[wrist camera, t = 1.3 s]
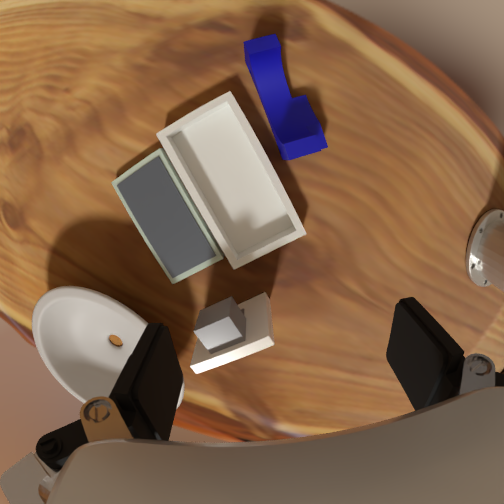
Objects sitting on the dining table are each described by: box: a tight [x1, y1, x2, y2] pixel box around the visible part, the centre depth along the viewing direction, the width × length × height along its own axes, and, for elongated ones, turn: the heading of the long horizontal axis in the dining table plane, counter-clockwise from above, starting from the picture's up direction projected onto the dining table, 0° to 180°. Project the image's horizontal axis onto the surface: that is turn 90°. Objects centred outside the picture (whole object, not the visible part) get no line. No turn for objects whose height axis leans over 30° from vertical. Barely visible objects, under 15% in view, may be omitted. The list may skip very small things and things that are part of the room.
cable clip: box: [244, 34, 328, 160], centre depth 24 cm, size 12×4×6 cm, turn 19°
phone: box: [111, 148, 224, 284], centre depth 30 cm, size 7×14×1 cm, turn 28°
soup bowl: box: [32, 286, 184, 409], centre depth 34 cm, size 24×24×7 cm
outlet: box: [190, 292, 275, 374], centre depth 30 cm, size 9×4×9 cm, turn 118°
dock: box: [156, 91, 306, 269], centre depth 28 cm, size 9×17×2 cm, turn 28°
